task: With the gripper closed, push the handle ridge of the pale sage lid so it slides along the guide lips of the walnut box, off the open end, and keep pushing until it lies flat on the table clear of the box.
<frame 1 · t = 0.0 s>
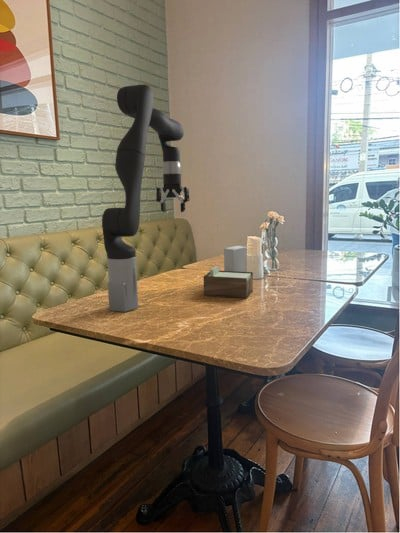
hand: (173, 212, 168), 29 cm above the table, fingers open, 8 cm apart
box: (228, 293, 148), on the table
skincare box: (235, 282, 166), on the table
lid: (229, 277, 147), point 6 cm above the table, touching box
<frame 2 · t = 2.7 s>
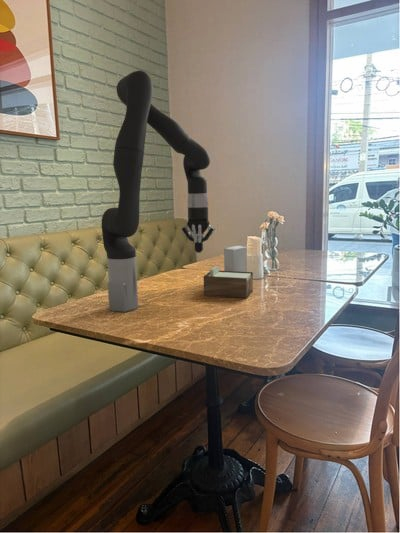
hand: (199, 252, 149), 15 cm above the table, fingers closed
nothing on the table moved.
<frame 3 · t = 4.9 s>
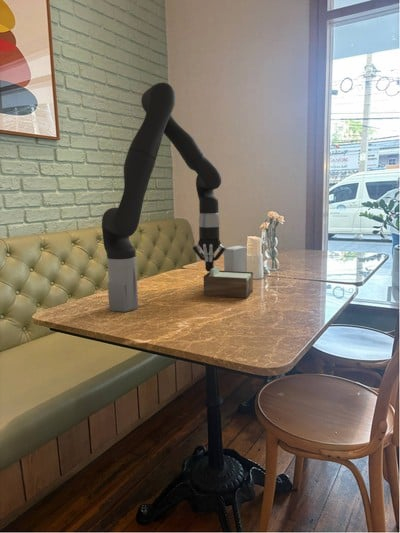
hand: (209, 271, 149), 8 cm above the table, fingers closed
lid: (229, 277, 146), point 6 cm above the table, touching box, gripper
everything else where it was.
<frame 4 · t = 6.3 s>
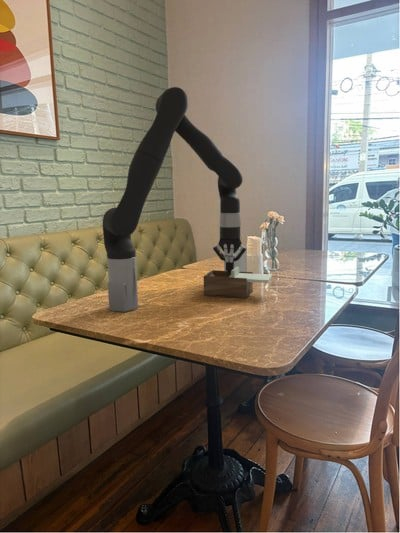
hand: (230, 271, 146), 8 cm above the table, fingers closed
lid: (250, 278, 144), point 6 cm above the table, touching gripper
everything else where it was.
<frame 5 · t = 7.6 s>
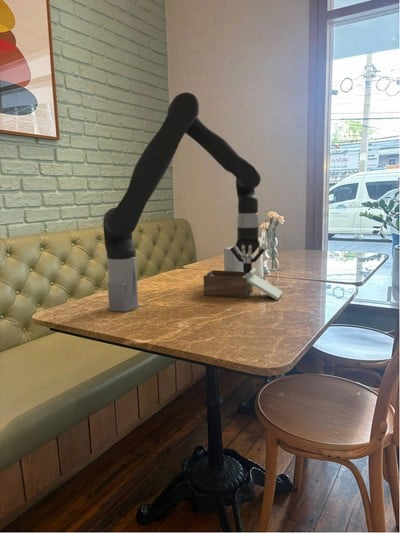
hand: (247, 273, 144), 8 cm above the table, fingers closed
lid: (261, 286, 143), point 4 cm above the table, tilted 28°, touching gripper
everything else where it was.
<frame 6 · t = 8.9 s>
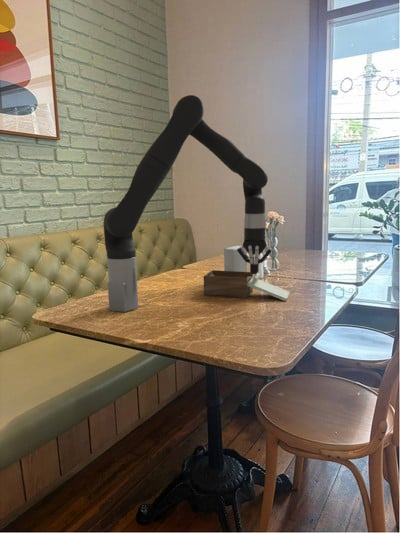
hand: (254, 273, 143), 8 cm above the table, fingers closed
lid: (268, 290, 142), point 2 cm above the table, tilted 19°
everything else where it was.
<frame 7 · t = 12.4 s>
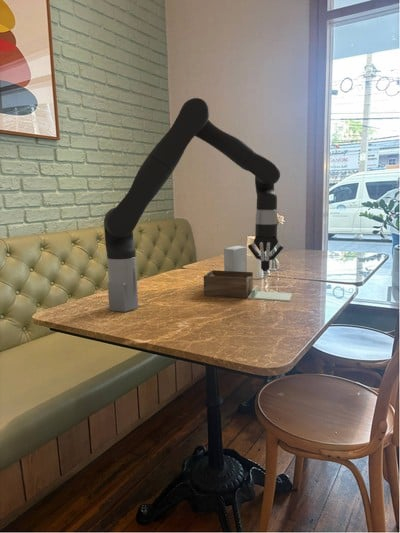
hand: (265, 270, 141), 9 cm above the table, fingers closed
lid: (270, 297, 143), on the table
everything else where it was.
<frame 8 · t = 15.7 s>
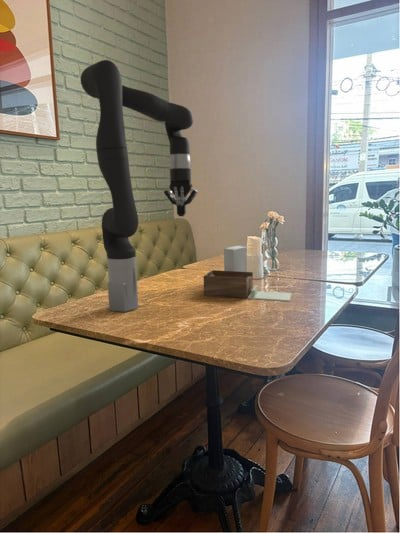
hand: (181, 216, 145), 29 cm above the table, fingers closed
nothing on the table moved.
at the end: lid inside the target area (9.5 cm from its centre), on the table; lid touching table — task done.
